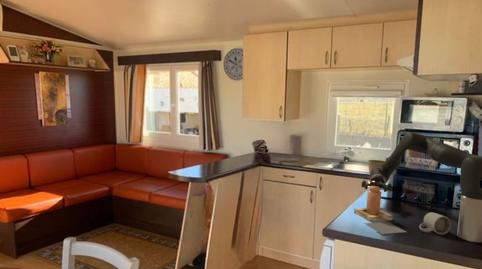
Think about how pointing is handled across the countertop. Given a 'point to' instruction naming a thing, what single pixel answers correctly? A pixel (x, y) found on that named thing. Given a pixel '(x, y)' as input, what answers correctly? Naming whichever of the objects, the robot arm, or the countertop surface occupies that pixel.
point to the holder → (363, 214)
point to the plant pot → (374, 164)
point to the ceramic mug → (435, 223)
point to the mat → (385, 228)
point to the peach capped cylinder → (373, 201)
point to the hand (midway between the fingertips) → (375, 188)
